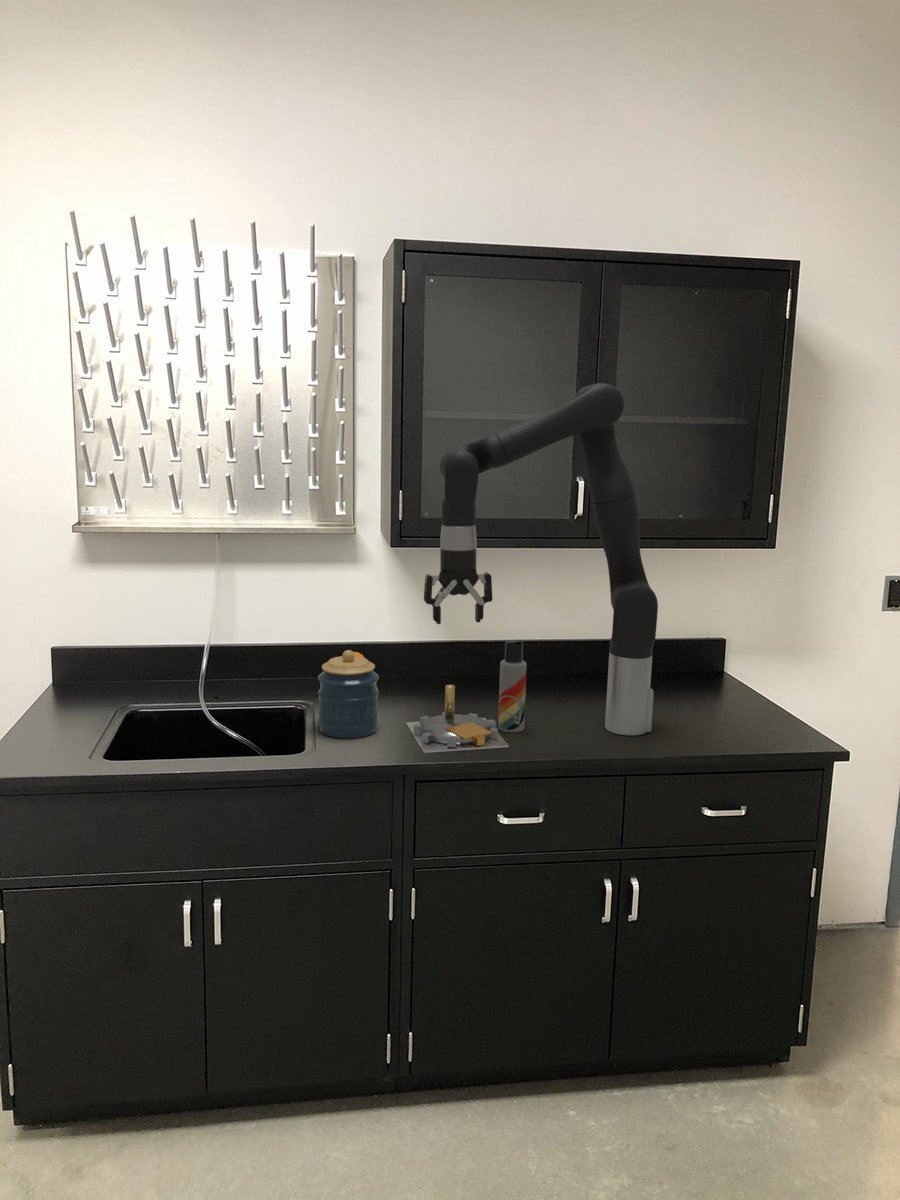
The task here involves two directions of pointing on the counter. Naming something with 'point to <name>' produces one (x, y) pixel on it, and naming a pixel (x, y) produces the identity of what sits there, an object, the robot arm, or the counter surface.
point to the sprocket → (455, 726)
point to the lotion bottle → (512, 688)
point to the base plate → (442, 747)
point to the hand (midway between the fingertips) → (458, 622)
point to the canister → (348, 697)
